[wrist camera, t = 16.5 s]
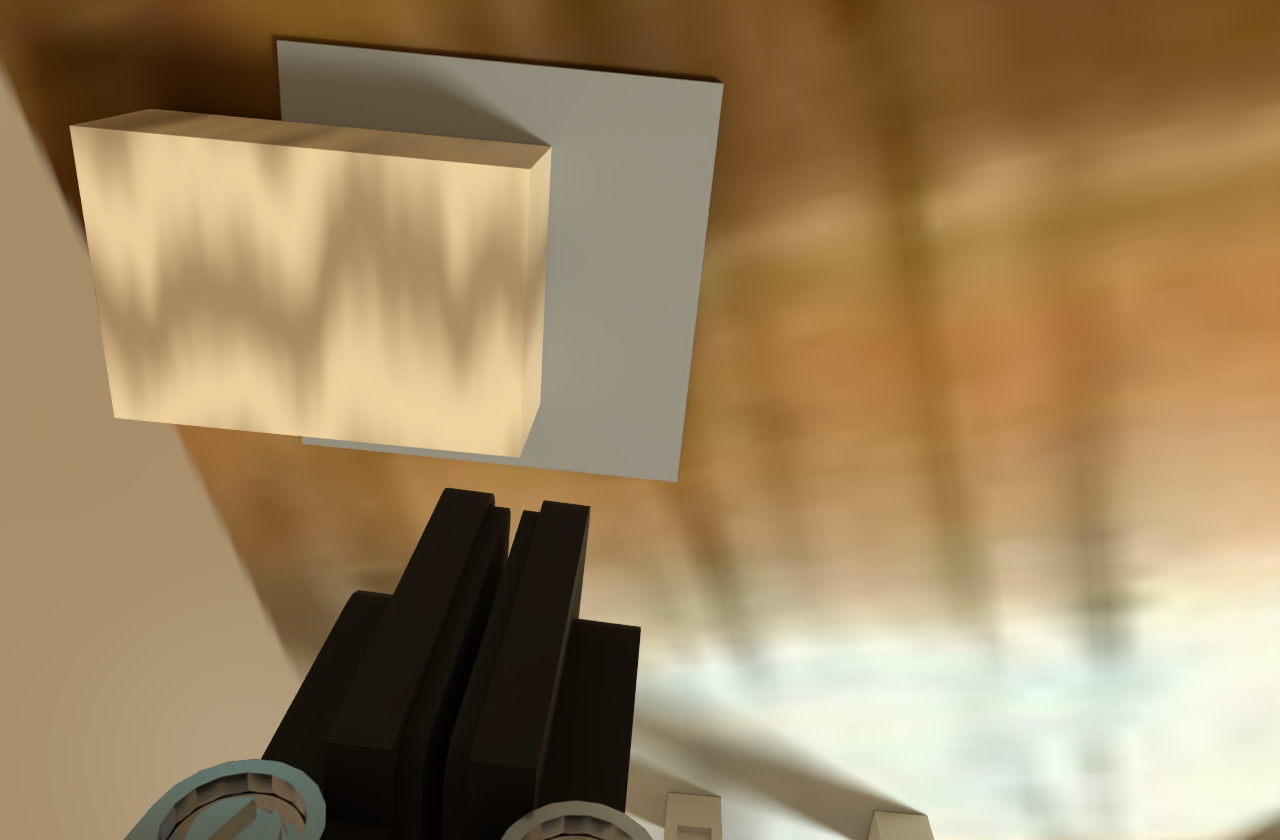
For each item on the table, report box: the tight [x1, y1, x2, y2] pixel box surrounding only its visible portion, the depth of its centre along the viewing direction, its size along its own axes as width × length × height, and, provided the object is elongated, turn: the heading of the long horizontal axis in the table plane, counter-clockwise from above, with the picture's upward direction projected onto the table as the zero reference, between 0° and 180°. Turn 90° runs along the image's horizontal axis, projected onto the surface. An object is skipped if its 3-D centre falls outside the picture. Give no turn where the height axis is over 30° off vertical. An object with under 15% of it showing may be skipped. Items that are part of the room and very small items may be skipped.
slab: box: [70, 109, 552, 458], centre depth 31 cm, size 9×4×13 cm
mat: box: [277, 40, 724, 482], centre depth 33 cm, size 14×14×1 cm
